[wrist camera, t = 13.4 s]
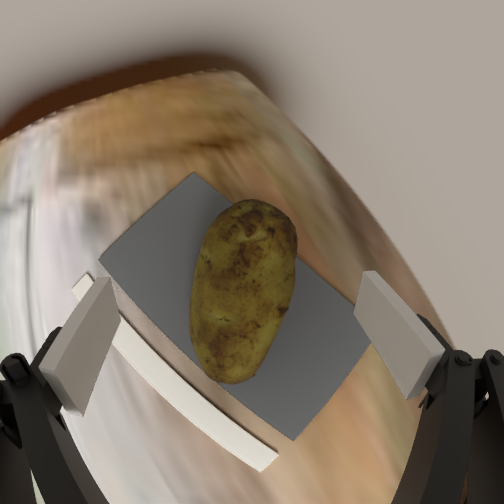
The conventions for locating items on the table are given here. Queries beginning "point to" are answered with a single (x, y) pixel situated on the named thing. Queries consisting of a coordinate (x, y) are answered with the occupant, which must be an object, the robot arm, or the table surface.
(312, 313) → the mat
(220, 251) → the potato
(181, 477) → the table surface
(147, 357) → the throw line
